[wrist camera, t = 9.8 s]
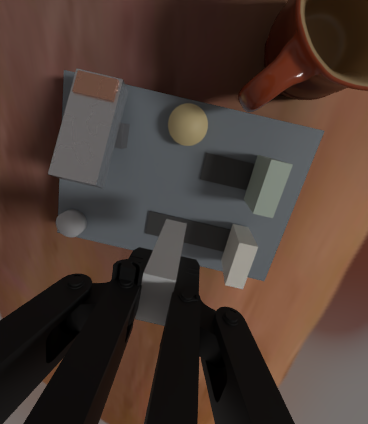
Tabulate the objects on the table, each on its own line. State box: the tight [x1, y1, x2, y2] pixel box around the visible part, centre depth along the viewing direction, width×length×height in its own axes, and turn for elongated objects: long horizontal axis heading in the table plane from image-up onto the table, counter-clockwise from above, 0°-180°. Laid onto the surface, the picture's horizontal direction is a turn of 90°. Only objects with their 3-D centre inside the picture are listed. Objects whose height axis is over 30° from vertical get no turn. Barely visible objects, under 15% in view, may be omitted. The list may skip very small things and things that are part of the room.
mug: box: [238, 0, 368, 112], centre depth 15 cm, size 12×9×10 cm
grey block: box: [244, 155, 293, 218], centre depth 18 cm, size 4×2×4 cm, turn 167°
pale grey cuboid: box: [221, 224, 258, 289], centre depth 20 cm, size 4×2×4 cm, turn 167°
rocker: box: [48, 69, 128, 189], centre depth 17 cm, size 8×4×2 cm, turn 168°
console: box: [56, 70, 324, 281], centre depth 22 cm, size 15×22×4 cm
